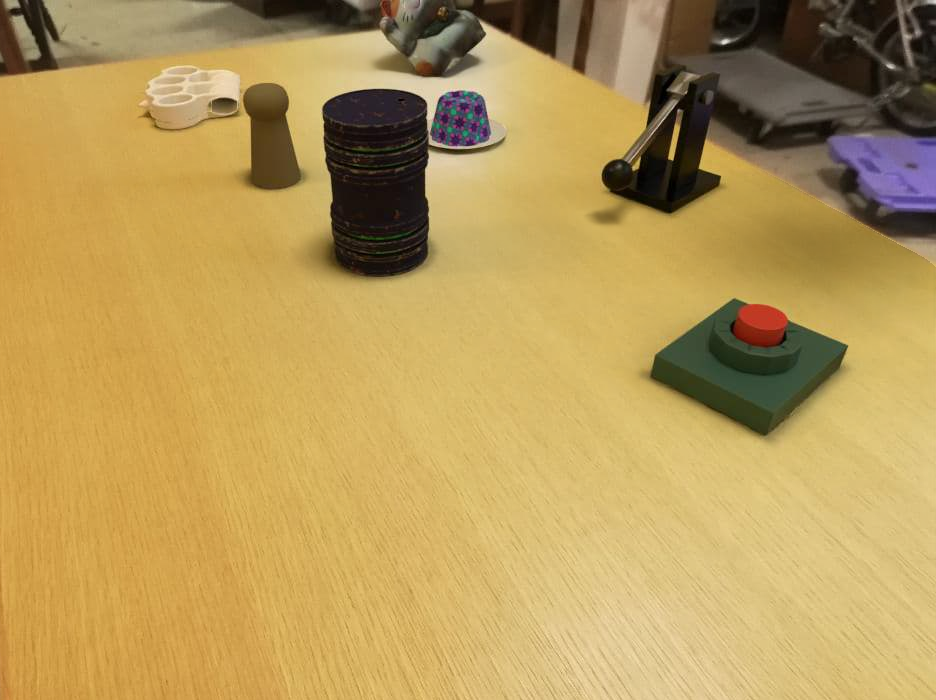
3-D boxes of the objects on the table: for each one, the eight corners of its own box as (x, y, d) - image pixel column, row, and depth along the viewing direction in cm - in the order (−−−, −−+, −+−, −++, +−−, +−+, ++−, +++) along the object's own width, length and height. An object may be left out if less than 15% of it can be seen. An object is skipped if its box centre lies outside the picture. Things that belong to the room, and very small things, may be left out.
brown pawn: (310, 173, 97) (301, 81, 89) (281, 192, 93) (268, 98, 86) (271, 164, 99) (259, 74, 92) (241, 182, 95) (226, 90, 88)
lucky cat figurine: (435, 83, 121) (391, -6, 115) (397, 95, 131) (354, 14, 125) (501, 33, 125) (461, -55, 119) (459, 49, 135) (420, -31, 129)
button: (767, 354, 60) (773, 335, 59) (723, 334, 62) (729, 316, 61) (790, 335, 61) (796, 316, 60) (747, 316, 64) (753, 298, 62)
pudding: (524, 134, 104) (527, 94, 101) (466, 162, 98) (467, 120, 94) (455, 114, 111) (455, 75, 107) (396, 139, 104) (395, 99, 101)
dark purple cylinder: (362, 287, 76) (352, 135, 66) (317, 246, 82) (302, 102, 73) (448, 258, 79) (450, 110, 70) (398, 221, 86) (394, 81, 76)
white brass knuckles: (240, 124, 110) (134, 133, 109) (242, 83, 124) (148, 90, 122) (237, 100, 108) (128, 108, 107) (239, 61, 122) (143, 68, 120)
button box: (765, 435, 58) (781, 393, 56) (650, 376, 64) (659, 335, 61) (839, 367, 64) (856, 326, 61) (728, 318, 70) (739, 279, 67)
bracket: (670, 213, 86) (695, 94, 77) (609, 191, 90) (627, 76, 82) (719, 185, 91) (747, 70, 82) (659, 166, 95) (680, 55, 87)
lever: (623, 200, 82) (618, 180, 80) (598, 191, 84) (592, 171, 82) (706, 96, 84) (704, 73, 81) (680, 89, 86) (677, 66, 83)
